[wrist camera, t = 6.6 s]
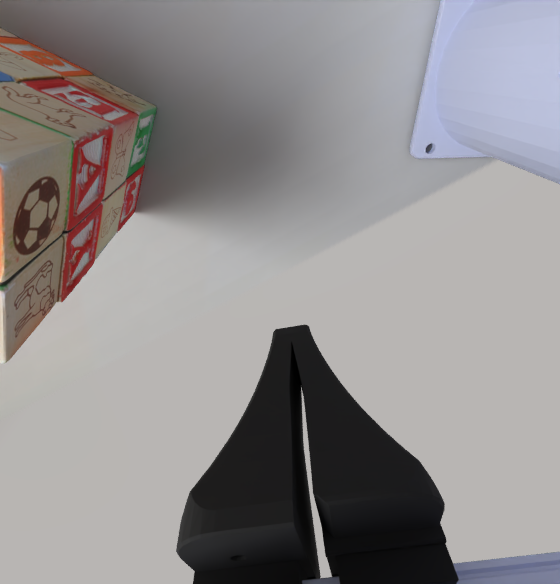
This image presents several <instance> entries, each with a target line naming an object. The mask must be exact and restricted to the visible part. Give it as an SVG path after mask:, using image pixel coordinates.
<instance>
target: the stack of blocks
mask: <svg viewBox="0 0 560 584" xmlns="http://www.w3.org/2000/svg"><path fill="white" fill-rule="evenodd" d="M156 110H157V107H156V106H155V105H153V104H151V103H149V102H147V101H145V100H143V99H141V98H139V97H137V96H134V95H132V94H130V93H128V92H126V91H124V90H122V89H120V88H118V87H116V86H114V85H112V84H110V83H108V82H106V81H104V80H102V79H100V78H98V77H96V76H94V75H93V74H92V73H91V72H89V71H87V70H85V69H83V68H81V67H79V66H77V65H75V64H73V63H71V62H69V61H67V60H65V59H63V58H61V57H59V56H56V55H54V54H52V53H50V52H48V51H46V50H44V49H42V48H40V47H38V46H36V45H34V44H32V43H30V42H28V41H26V40H23V39H20V38H19V37H17V36H15V35H13V34H11V33H9V32H7V31H5V30H4V29H2V28H0V363H6V362H7V361H9V360H10V359H11V357H12V356H13V355H14V354H15V353H16V351H17V350H18V349H19V348H20V347H21V345H22V344H23V343H24V342H25V341H26V339H27V338H28V337H29V336H30V335H31V333H32V332H33V331H34V330H35V329H36V327H37V326H38V325H39V324H40V322H41V321H42V320H43V319H44V318H45V316H46V315H47V314H48V313H49V312H50V310H51V309H52V307H53V306H54V305H55V303H56V302H63V301H64V300H65V299H66V297H67V296H68V295H69V294H70V293H71V292H72V291H73V289H74V288H75V286H76V285H77V284H78V283H79V282H80V280H81V279H82V277H83V276H84V275H86V273H87V272H88V270H89V269H90V268H91V267H92V265H93V264H94V261H95V259H96V258H97V257H98V256H99V254H100V253H101V252H102V250H103V249H104V248H105V247H106V245H107V244H108V243H109V242H110V240H111V239H112V238H113V236H114V235H115V234H116V233H117V232H118V231H119V230H120V229H121V228H122V226H123V225H124V224H125V223H126V222H127V220H128V219H129V218H130V217H131V216H132V215H133V213H134V211H135V208H136V203H137V199H138V194H139V190H140V185H141V180H142V176H143V171H144V163H145V158H146V153H147V149H148V145H149V140H150V136H151V132H152V127H153V123H154V118H155V114H156Z"/></svg>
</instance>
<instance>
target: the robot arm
mask: <svg viewBox="0 0 560 584" xmlns="http://www.w3.org/2000/svg"><path fill="white" fill-rule="evenodd" d="M431 143H432V148H431V150H430V151H429V152H426V147H427V146H428V145H429V144H431ZM410 154H411V155H412V156H413V157H415V158H418V159H421V158H465V157H493V158H496V159H498V160H501V161H503V162H506V163H508V164H511V165H513V166H516V167H518V168H521V169H523V170H526V171H528V172H531V173H533V174H536V175H538V176H541V177H543V178H546V179H548V180H551V181H553V182H556V183H558V184H560V0H441V1H440V6H439V11H438V15H437V20H436V25H435V30H434V34H433V39H432V44H431V49H430V53H429V58H428V63H427V68H426V73H425V77H424V82H423V87H422V92H421V96H420V101H419V106H418V111H417V115H416V120H415V125H414V130H413V135H412V139H411V144H410ZM301 387H302V391H303V396H304V403H305V412H306V422H307V431H308V440H309V451H310V461H311V473H312V484H313V494H314V498H315V502H316V506H317V509H318V513H319V517H320V521H321V525H322V531H323V540H324V546H325V554H326V557H327V559H328V563H329V566H330V570H331V574H332V577H329V578H320V570H319V563H318V556H317V548H316V542H315V533H314V527H313V518H312V510H311V503H310V495H309V487H308V480H307V471H306V463H305V455H304V446H303V428H302V427H303V426H302V398H301ZM443 512H444V501H443V499H442V497H441V495H440V493H439V491H438V489H437V487H436V485H435V484H434V482H433V480H432V479H431V477H430V476H429V474H428V473H427V471H426V470H425V469H424V467H423V466H422V464H421V463H420V461H419V460H418V459H416V458H415V457H414V456H413V455H411V454H410V453H409V452H408V451H407V450H405V449H404V448H403V447H402V446H401V445H399V444H398V443H397V442H396V441H395V440H394V439H393V438H392V437H391V436H390V435H388V434H387V433H386V432H385V431H384V430H383V429H382V428H381V427H380V426H379V425H378V424H377V423H376V422H375V421H374V420H373V419H372V418H371V417H370V416H369V415H368V414H367V413H366V412H365V411H364V410H363V409H362V408H361V407H360V405H359V404H358V403H357V402H356V401H355V400H354V399H353V397H352V396H351V395H350V394H349V393H348V392H347V390H346V389H345V388H344V387H343V385H342V384H341V383H340V381H339V380H338V378H337V377H336V376H335V374H334V373H333V372H332V370H331V369H330V367H329V366H328V364H327V363H326V361H325V359H324V358H323V356H322V355H321V353H320V351H319V349H318V347H317V345H316V343H315V341H314V339H313V337H312V335H311V332H310V329H309V326H307V325H300V326H294V327H288V328H281V329H276V330H275V331H274V332H273V338H272V343H271V347H270V351H269V354H268V358H267V360H266V363H265V366H264V370H263V372H262V375H261V378H260V380H259V382H258V385H257V387H256V389H255V392H254V394H253V396H252V398H251V401H250V402H249V404H248V407H247V408H246V411H245V412H244V414H243V416H242V418H241V420H240V421H239V423H238V425H237V427H236V428H235V430H234V432H233V433H232V435H231V437H230V438H229V440H228V441H227V443H226V444H225V445H224V447H223V448H222V450H221V451H220V453H219V455H218V456H217V457H216V459H215V460H214V462H213V463H212V464H211V466H210V467H209V469H208V470H207V471H206V472H205V473H204V475H203V476H202V477H201V479H200V480H199V481H198V483H197V484H196V485H195V486H194V487H193V489H192V490H191V491H190V493H189V496H188V499H187V502H186V505H185V509H184V513H183V516H182V520H181V525H180V531H179V537H178V543H177V550H176V552H177V553H178V555H179V556H180V558H181V559H182V560H183V561H184V562H185V563H186V564H188V566H190V567H191V568H192V569H193V570H194V571H195V573H194V581H193V584H560V552H553V553H544V554H536V555H526V556H517V557H508V558H499V559H491V560H482V561H473V562H463V563H456V564H455V563H454V564H453V563H452V560H451V557H450V555H449V552H448V550H447V547H446V545H445V543H446V537H445V535H444V532H443V530H442V527H441V524H440V521H441V518H442V515H443Z"/></svg>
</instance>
